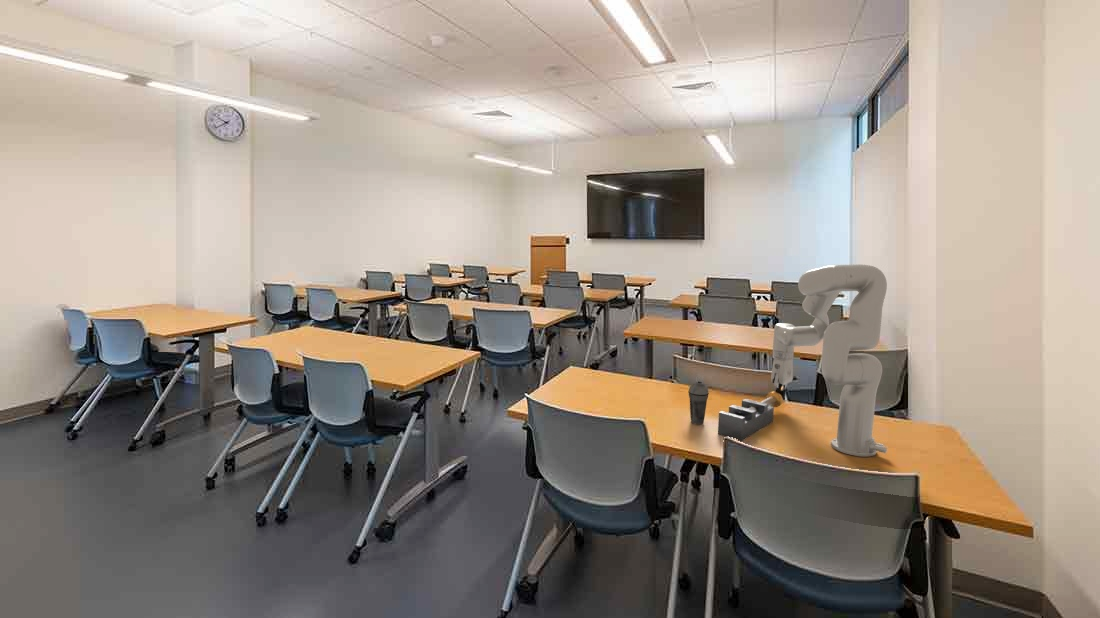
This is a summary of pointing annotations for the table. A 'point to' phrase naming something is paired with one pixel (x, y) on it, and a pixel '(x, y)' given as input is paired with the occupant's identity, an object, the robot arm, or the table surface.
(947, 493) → the table surface
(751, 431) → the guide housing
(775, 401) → the shaft
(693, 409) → the beverage cup
